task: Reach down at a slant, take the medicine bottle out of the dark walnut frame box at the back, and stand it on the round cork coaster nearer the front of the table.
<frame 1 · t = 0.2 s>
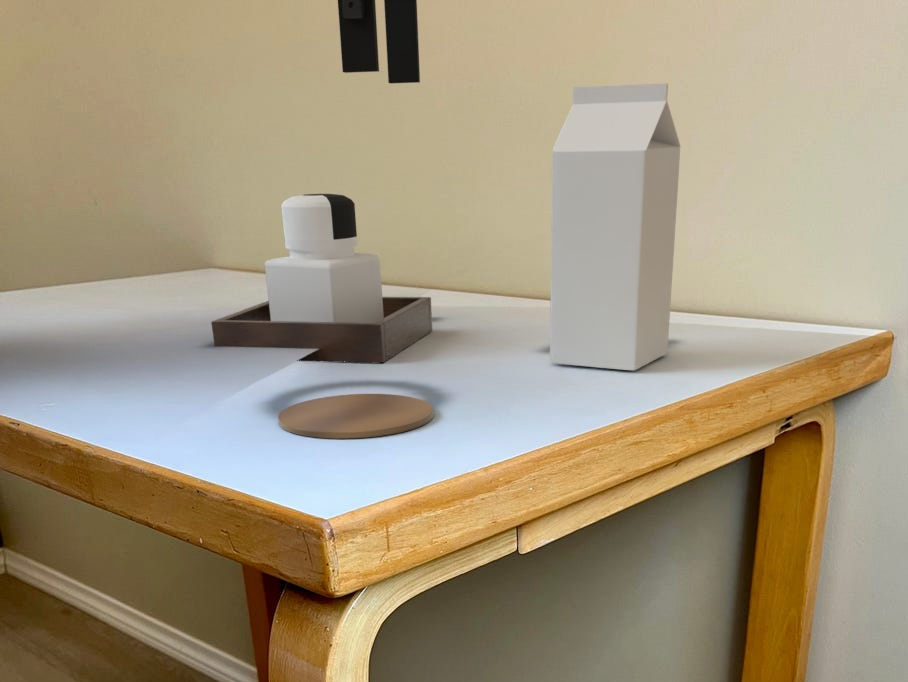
hand: (384, 78, 84), 20 cm above the table, tool pointing down, fingers open, 13 cm apart
medicine bottle: (330, 346, 88), resting in walnut frame box
cork coaster: (356, 417, 65), on the table
milk carton: (609, 363, 79), on the table
walnut frame box: (330, 344, 88), on the table
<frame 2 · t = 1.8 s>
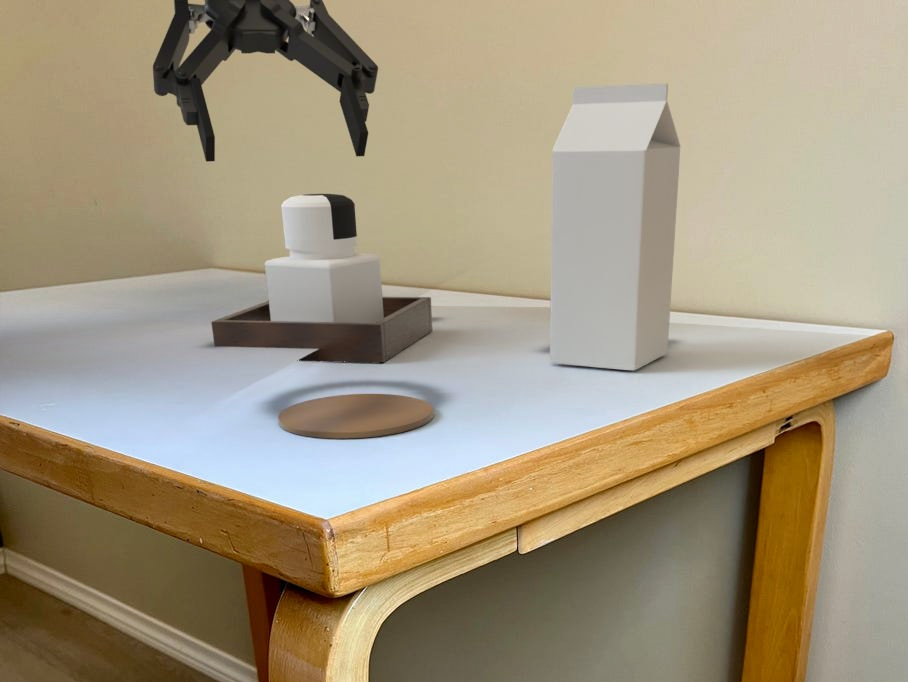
hand: (288, 147, 89), 15 cm above the table, tool tilted 45°, fingers open, 13 cm apart
nothing on the table moved.
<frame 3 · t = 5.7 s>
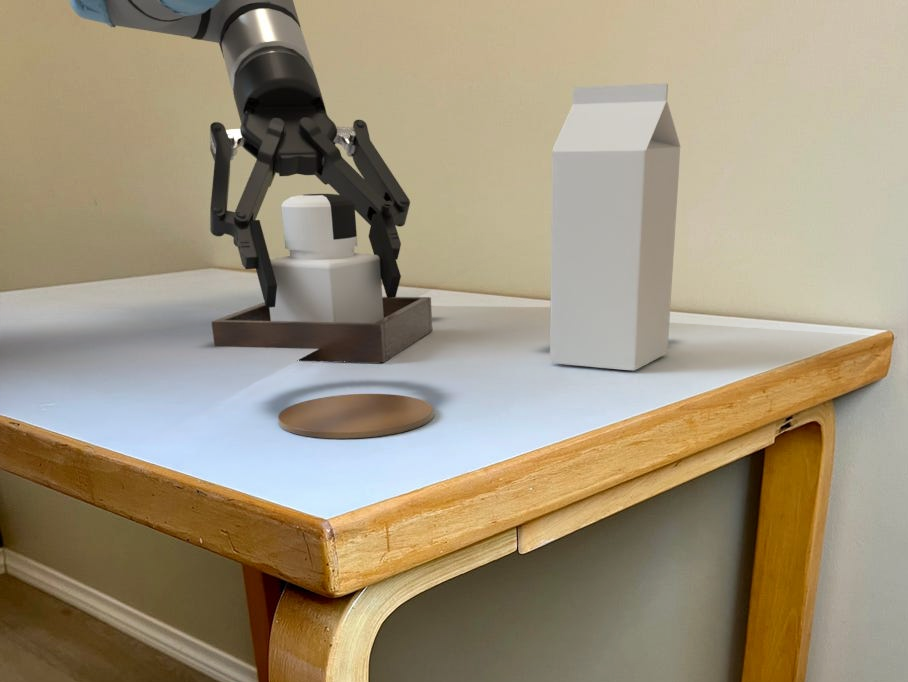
hand: (334, 292, 84), 5 cm above the table, tool tilted 45°, fingers closed on medicine bottle, 10 cm apart
medicine bottle: (330, 346, 88), resting in walnut frame box, touching gripper
everything else where it was.
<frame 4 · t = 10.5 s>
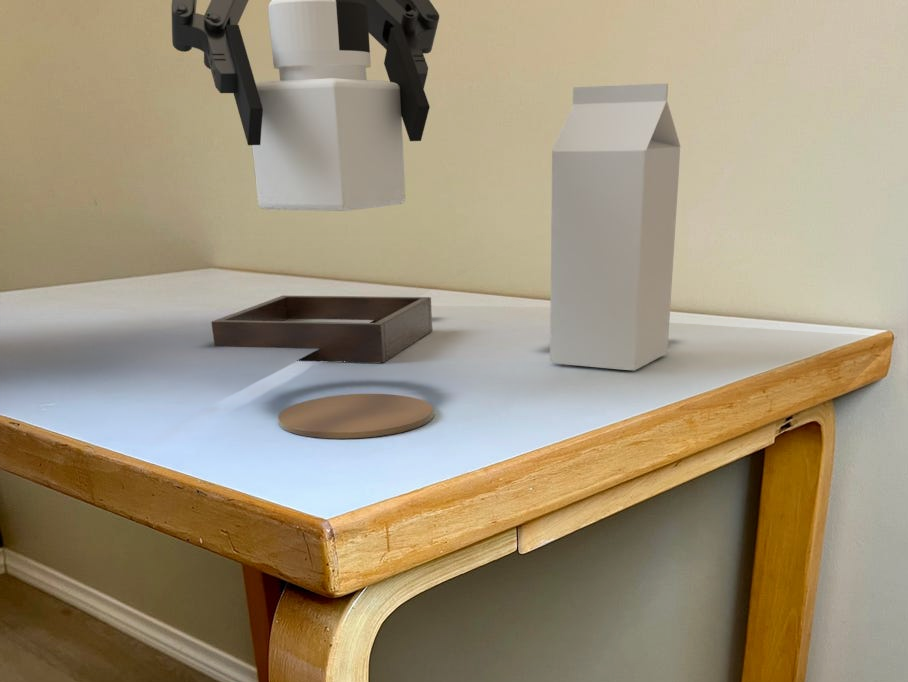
hand: (339, 125, 62), 17 cm above the table, tool tilted 45°, fingers closed on medicine bottle, 10 cm apart
medicine bottle: (333, 209, 67), point 12 cm above the table, touching gripper
everything else where it was.
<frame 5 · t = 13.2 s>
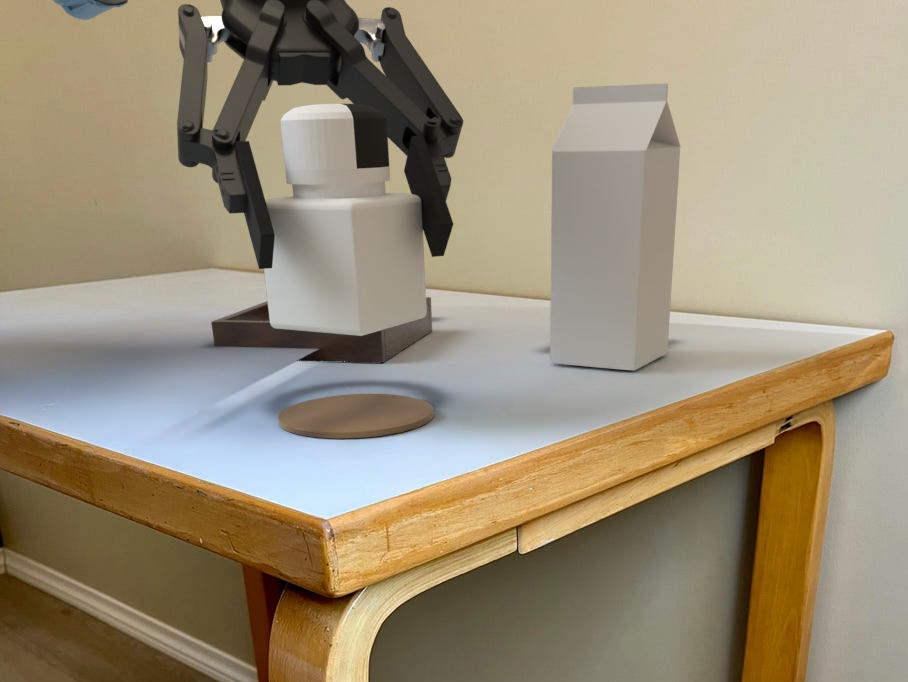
hand: (357, 246, 58), 11 cm above the table, tool tilted 45°, fingers closed on medicine bottle, 10 cm apart
medicine bottle: (350, 326, 63), point 6 cm above the table, touching gripper
everything else where it was.
when the fingers open (5 cm above the table, at t = 15.3 s): medicine bottle stays where it is, resting on cork coaster.
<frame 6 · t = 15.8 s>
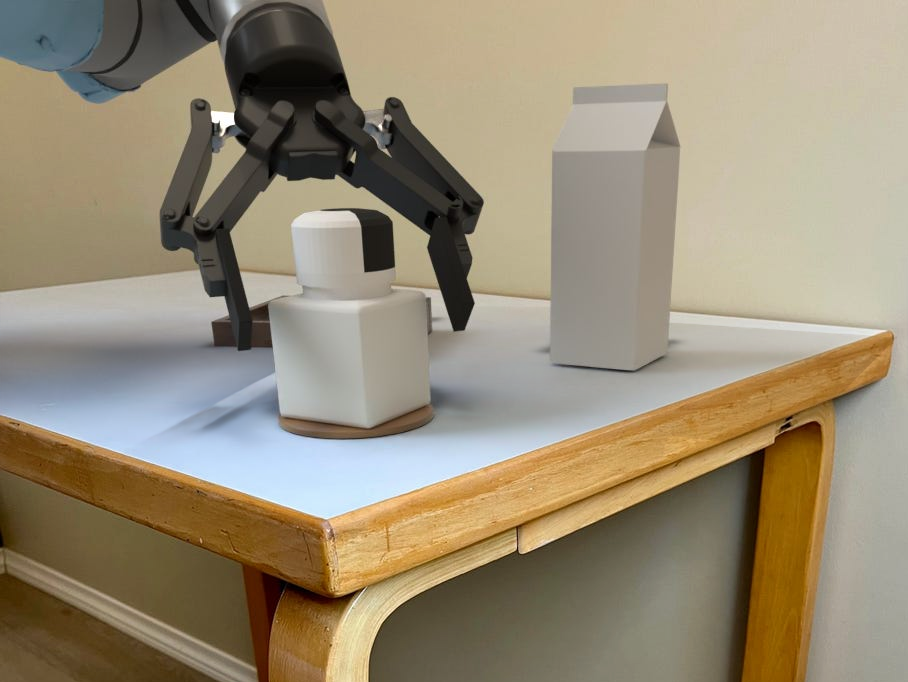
hand: (358, 327, 60), 6 cm above the table, tool tilted 45°, fingers open, 13 cm apart
medicine bottle: (357, 414, 65), resting on cork coaster
everything else where it was.
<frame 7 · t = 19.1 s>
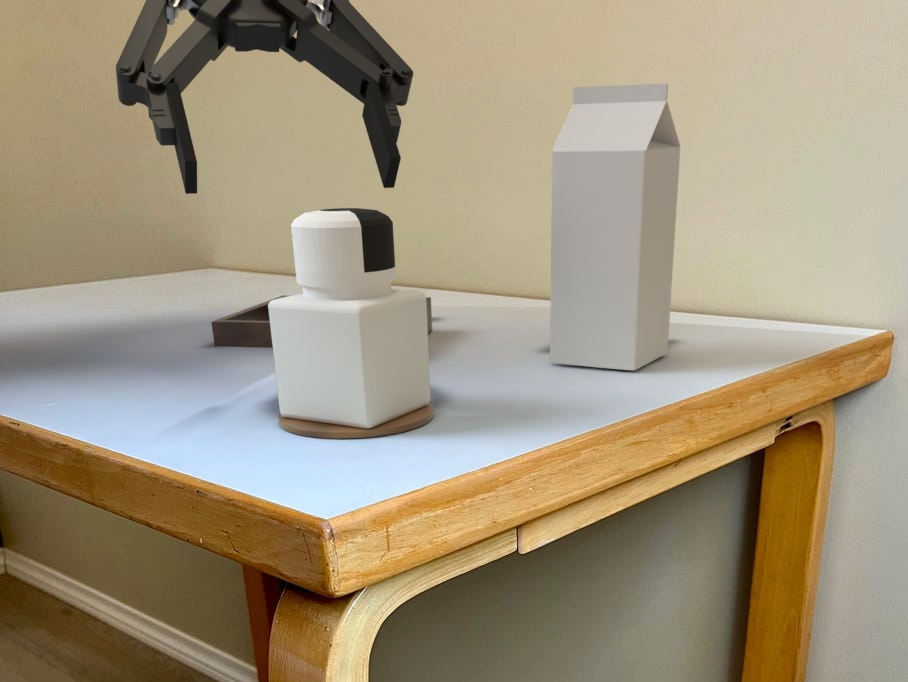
hand: (295, 176, 67), 14 cm above the table, tool tilted 45°, fingers open, 13 cm apart
nothing on the table moved.
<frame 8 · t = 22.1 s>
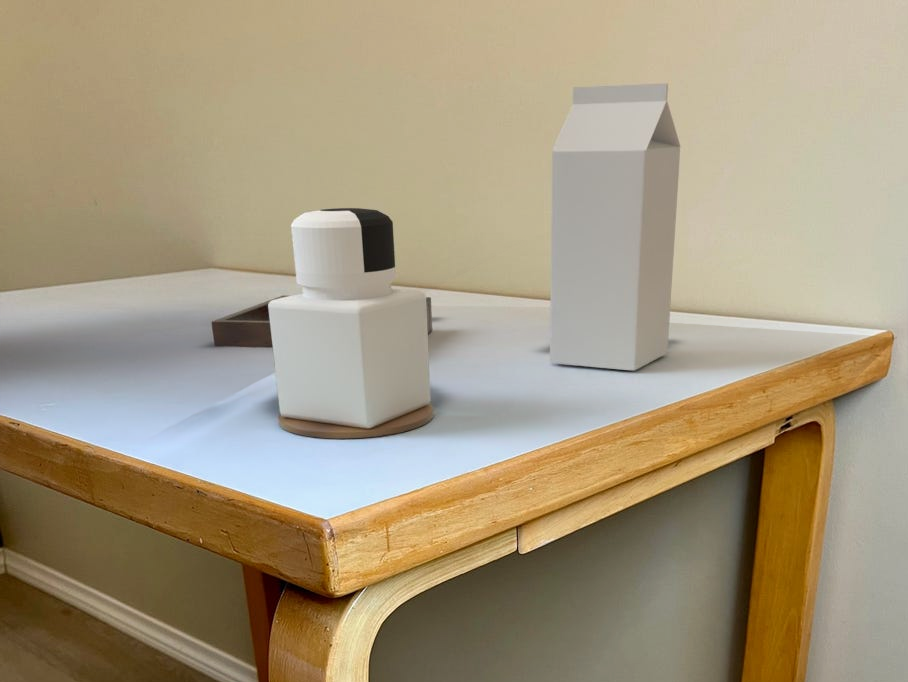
nothing on the table moved.
at the end: medicine bottle inside the target area on the cork coaster (0.0 cm from its centre), point 0.2 cm above the cork coaster's base; medicine bottle tilted 0°; the gripper is holding nothing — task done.
